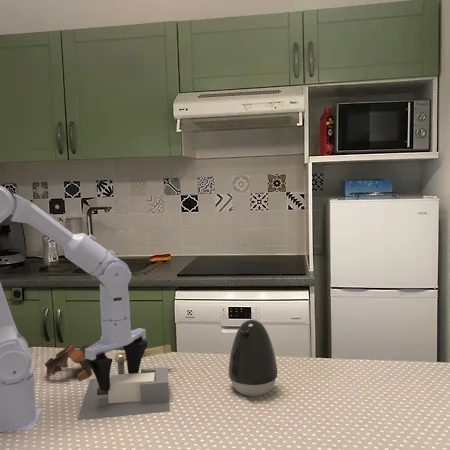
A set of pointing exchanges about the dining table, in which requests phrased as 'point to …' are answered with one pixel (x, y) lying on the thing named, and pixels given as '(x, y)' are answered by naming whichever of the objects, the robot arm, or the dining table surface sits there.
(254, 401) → the dining table surface
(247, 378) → the pump dispenser
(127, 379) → the plug
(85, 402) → the socket
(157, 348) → the brass ball-knob lever
